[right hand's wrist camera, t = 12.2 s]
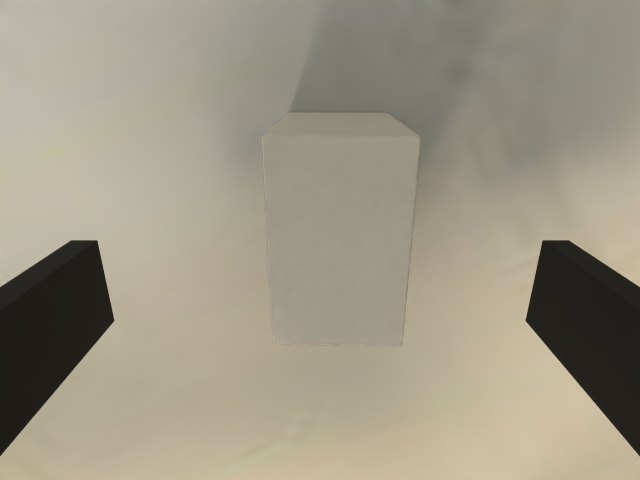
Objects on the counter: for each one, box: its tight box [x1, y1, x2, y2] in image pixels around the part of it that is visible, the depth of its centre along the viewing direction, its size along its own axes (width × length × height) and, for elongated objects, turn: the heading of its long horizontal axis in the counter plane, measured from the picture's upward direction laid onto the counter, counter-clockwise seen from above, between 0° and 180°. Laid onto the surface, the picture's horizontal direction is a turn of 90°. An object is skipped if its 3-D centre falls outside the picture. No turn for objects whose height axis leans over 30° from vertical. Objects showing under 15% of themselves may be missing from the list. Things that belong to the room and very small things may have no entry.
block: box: [262, 112, 421, 346], centre depth 18 cm, size 5×8×8 cm, turn 0°
